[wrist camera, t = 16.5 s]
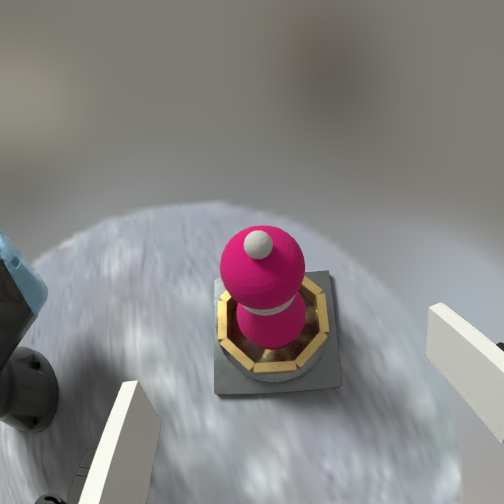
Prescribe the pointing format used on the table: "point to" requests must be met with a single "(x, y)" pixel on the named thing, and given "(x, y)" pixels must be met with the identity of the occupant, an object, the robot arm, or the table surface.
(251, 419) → the table surface
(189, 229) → the table surface
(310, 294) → the silver and gold bowl
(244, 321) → the pepper mill
